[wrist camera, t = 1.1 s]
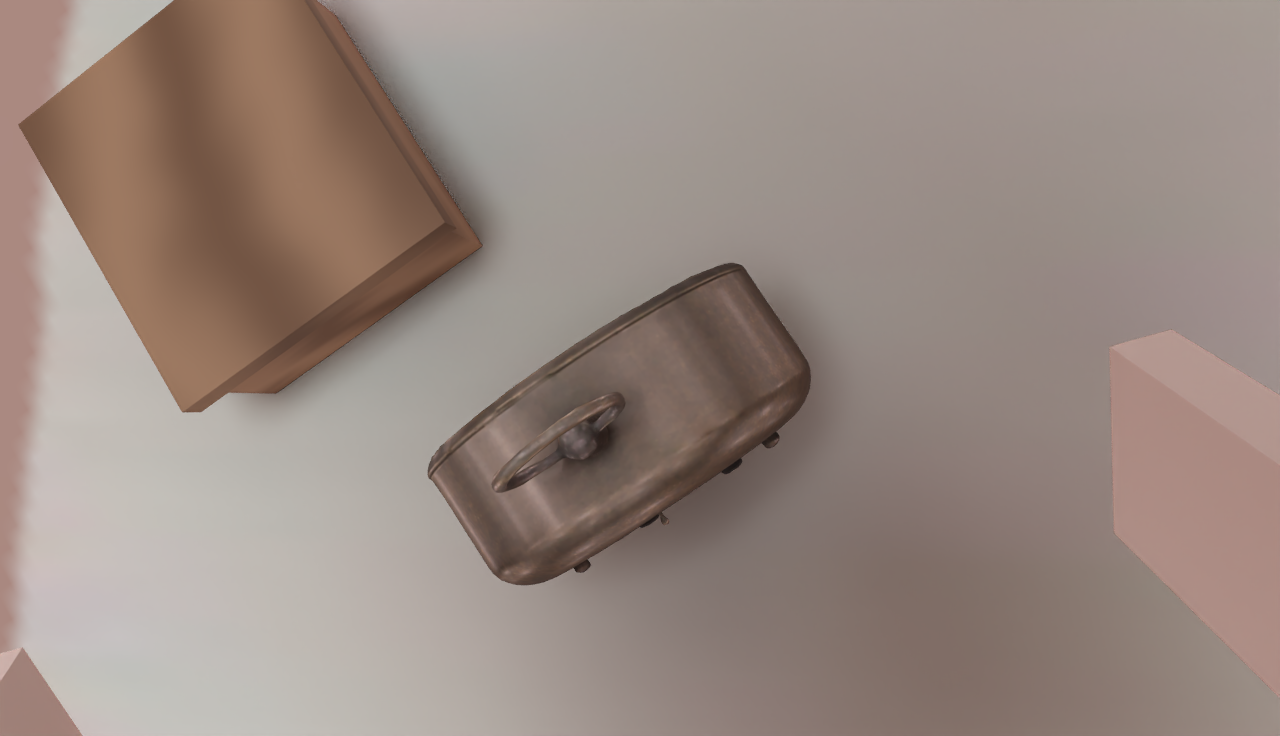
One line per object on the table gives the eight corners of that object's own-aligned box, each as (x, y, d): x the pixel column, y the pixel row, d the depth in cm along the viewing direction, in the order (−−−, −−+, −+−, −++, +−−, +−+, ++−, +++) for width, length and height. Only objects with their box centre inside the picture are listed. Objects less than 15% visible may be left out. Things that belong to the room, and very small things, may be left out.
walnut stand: (339, -3, 38) (260, -69, 33) (500, 249, 36) (445, 222, 31) (126, 162, 39) (18, 124, 34) (272, 411, 38) (182, 412, 32)
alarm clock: (750, 281, 35) (689, 174, 19) (837, 408, 34) (850, 411, 18) (503, 449, 36) (249, 485, 20) (581, 575, 35) (382, 715, 19)
